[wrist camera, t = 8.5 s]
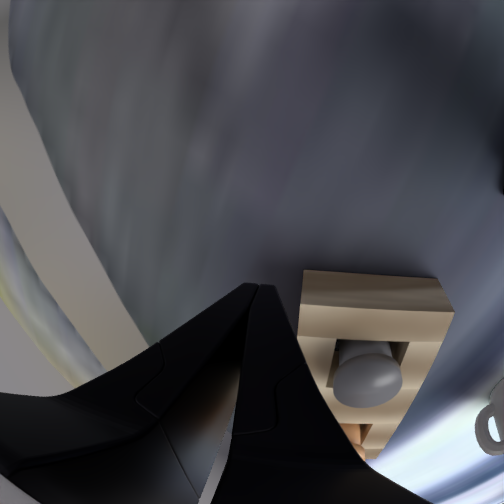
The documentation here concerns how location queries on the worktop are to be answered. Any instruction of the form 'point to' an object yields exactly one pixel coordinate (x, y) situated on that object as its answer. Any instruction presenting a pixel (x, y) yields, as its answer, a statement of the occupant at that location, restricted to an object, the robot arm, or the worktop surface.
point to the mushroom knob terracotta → (354, 437)
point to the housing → (372, 337)
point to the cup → (500, 408)
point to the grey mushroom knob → (366, 373)
